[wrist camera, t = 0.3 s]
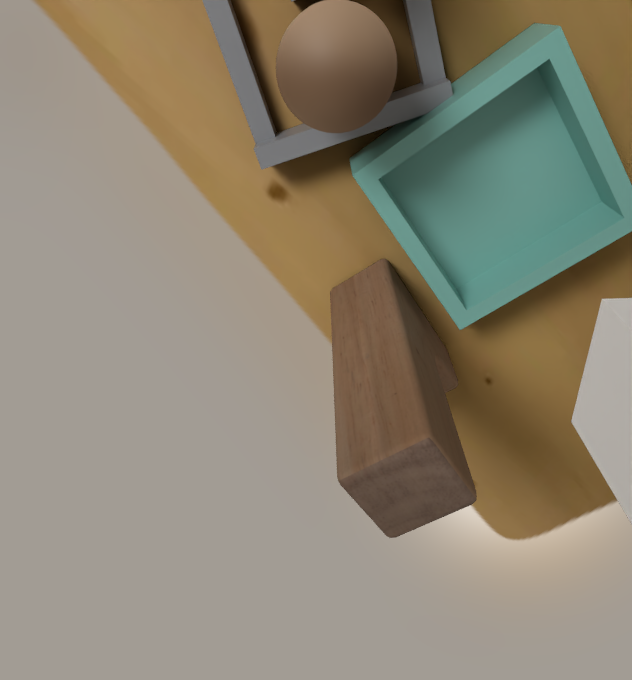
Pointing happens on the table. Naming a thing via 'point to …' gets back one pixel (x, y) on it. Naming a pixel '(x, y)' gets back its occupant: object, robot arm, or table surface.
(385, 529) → the wooden block
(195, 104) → the table surface
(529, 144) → the tray
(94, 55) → the table surface
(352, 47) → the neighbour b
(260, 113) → the grey flat open frame
